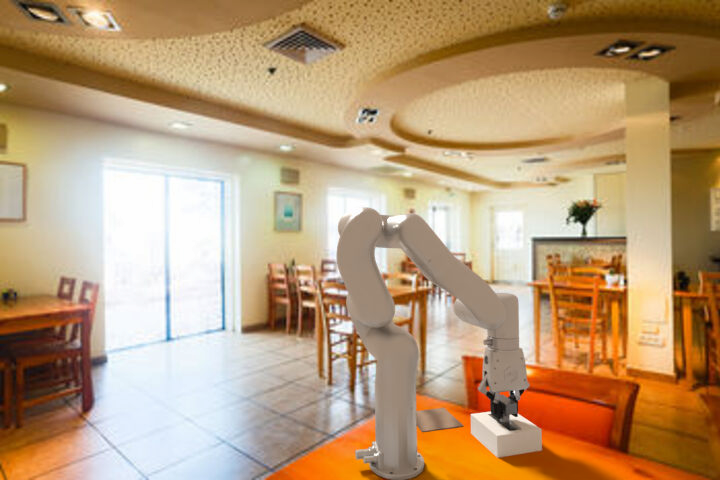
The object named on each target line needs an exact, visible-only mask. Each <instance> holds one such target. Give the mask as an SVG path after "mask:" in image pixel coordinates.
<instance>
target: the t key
mask: <svg viewBox="0 0 720 480" xmlns="http://www.w3.org/2000/svg"><path fill="white" fill-rule="evenodd" d="M498 402H499V403H500V404H501V419H499V423H500V424H501V425H502V426H504V427H505V428H506V429H508V430H509V431H514V430H516V429H510V415H511V414H517V403H515V402H514V401H512V400H511V399H509V398H508V396H506V395H505V394H501V393H500V394H499V401H498Z"/></svg>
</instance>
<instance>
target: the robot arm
mask: <svg viewBox="0 0 720 480" xmlns="http://www.w3.org/2000/svg"><path fill="white" fill-rule="evenodd" d="M337 231H338V235H339V238H338V242H337V246H336V264H337V268H338V272H339V274H340V276H341V280H342V282H343V283H344V286H345V288H346V292H347V295H346V298H345V299H346V301H345V302H346V304H345V305H346V309H347V312H348V315H349V316H350V319H351V321H352V323H353V326H354V327H355V329H356V332H357V335H359V338H360V340H361V342H362V344H363V346H364V347H365V349H366V351H367V352H368V353H369V354H370V355H371V356H372V357H373V358H374V359H375V360H376V371H375V376H374V377H375V378H374V423H375V424H374V426H375V429H374V431H375V432H374V434H375V441H371V446H369V447H368V448H364V449H355V452H354V454H355V455H354V456H355V459H356V460H363V464H368V465H369V469H371V471H372V472H373V474H376V475H377V476H378V477H382V478H384V479H387V480H410V479H412V478H415V477H417V476H418V475H420V474H421V473H422V472H423V470H424V468H425V460H424V457H423V456H422V454H421V453H420V452H418V437H417V436H418V433H417V431H418V430H417V428H418V426H417V420H416V411H417V371H418V365H419V358H420V357H419V356H420V355H419V354H420V351H419V345H418V343H417V341H416V339H415V337H414V336H413V335H412V334H411V333H410V331H408V330H407V329H404V328H403V327H401V326H400V325H397V324H396V323H395V322H394V320H393V319H394V317H395V315H396V305H395V301H394V298H393V297H392V294H391V293H390V291H389V289H388V287H387V285H386V282H385V280H384V277H383V276H382V274H381V272H380V268H379V266H378V263H377V261H376V257H375V256H376V254H375V253H376V252H375V251H376V248H380V249H381V248H382V249H398V250H402V252H403V253H404V254H405V256H407V257H408V258H409V259H410V262H412V263H413V264H414V265H415V267H416V268H417V269H418V270H419V271H420V273H421V274H422V275H423V276H424V277H425V278H426V279H427V280H428V281H429V282H431V284H434V286H437V287H439V288H440V289H442V290H444V291H445V292H448V293H449V294H450V295H452V296H453V297H455V298H456V300H455V301H454V303H453V312H454V314H455V316H456V317H457V318H458V319H459V320H461V321H462V322H464V323H466V324H469V325H472V326H475V327H479V328H481V329H484V330H486V331H487V335H486V339H483V345H484V346H487V347H485V349H484V354H483V359H482V360H483V361H482V380H481V381H480V383H479V385H478V387H477V391H478V392H480V393H481V394H483V395H484V396H486V397H487V398H488V400H489V401H490V405H489V407H490V408H489V409H490V411H491V414H492V415H493V416H494V417H495V418H497V419H501V404H500V403H499V402H498V401H499V395H501V393H505V392H508V394H509V396H507V398H509V399H511V400H512V401H514V402H515V403H517V414H511V415H513V416H514V417H518V414H519V401H520V400H521V396H522V395H523V394H524V393H525V391H526V390H527V389H529V387H530V383H529V381H528V374H527V373H528V372H527V364H526V359H525V354H524V351H523V348H522V347H520V326H519V325H520V317H519V316H520V312H519V309H520V307H519V304H520V303H519V298H518V296H517V295H516V294H513V293H508V292H495V291H494V290H493V289H492V287H491V286H490V285H489V284H488V283H487V282H486V281H485V280H484V279H483V278H482V277H481V276H480V275H479V274H478V273H476V272H475V271H474V270H472V269H471V268H470V267H468V265H466V264H465V263H464V262H463V261H462V260H459V259H458V258H457V257H456V256H455V255H454V254H453V253H452V251H450V249H449V248H448V247H447V246H446V244H445V243H444V242H443V241H442V240H441V238H440V237H439V236H438V234H436V232H435V231H434V230H433V229H432V227H431V226H430V225H429V224H428V223H427V222H426V220H425V219H424V218H423V217H422V216H420V215H418V214H416V213H413V212H412V213H411V212H410V213H404V214H398V215H395V214H394V215H392V214H391V215H389V214H381V213H380V212H379V211H377V210H376V209H374V208H372V207H359V208H356V209H353V210H351V211H350V210H349V211H348V212H346V213H345V214H343V216H341V218H339V221H338V224H337ZM487 388H488V389H487Z"/></svg>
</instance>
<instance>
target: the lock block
mask: <svg viewBox="0 0 720 480" xmlns="http://www.w3.org/2000/svg"><path fill="white" fill-rule="evenodd" d="M510 429H516V430H514V431H509V430H508V429H506V428H505V427H504V426H502V425H501V424H500V423H499V419H497V418H495V417H494V416H493V415H492V414H491V410H490V411H484V412H477V413H476V412H475V413H470V434H471V435H472V436H473V437H474V438H476V440H478V442H480V443H481V444H482V445H483V446H484V447H485V448H486V449H487V450H488V451H490V453H491V454H493V455H494V456H495V457H496V458H505V457H509V456H516V455H522V454H528V453H534V452H541V451H543V444H542V443H543V441H542V440H543V439H542V438H543V435H542V433H543V432H542V428H540V427H539V426H537V425H536V424H534V423H533V422H531V421H530V420H528V419H527V418H525V417H524V416H522V415H521V414H519V413H518V417H514V416H513V415H510Z"/></svg>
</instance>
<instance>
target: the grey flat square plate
mask: <svg viewBox="0 0 720 480" xmlns="http://www.w3.org/2000/svg"><path fill="white" fill-rule="evenodd" d="M416 420H417V428H418V429H419V430H420V432H421V433H424V432H425V433H427V432H432V431H441V430H447V429H455V428H462V427H464V424H463V423H462V422H460V421H459V420H458V419H457V418H456V417H455V416H454V415H453V414H452V413H450V412H449V411H448V410H447V409H446V408H445V407H439V408H431V409H430V408H429V409H422V410H416Z"/></svg>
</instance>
